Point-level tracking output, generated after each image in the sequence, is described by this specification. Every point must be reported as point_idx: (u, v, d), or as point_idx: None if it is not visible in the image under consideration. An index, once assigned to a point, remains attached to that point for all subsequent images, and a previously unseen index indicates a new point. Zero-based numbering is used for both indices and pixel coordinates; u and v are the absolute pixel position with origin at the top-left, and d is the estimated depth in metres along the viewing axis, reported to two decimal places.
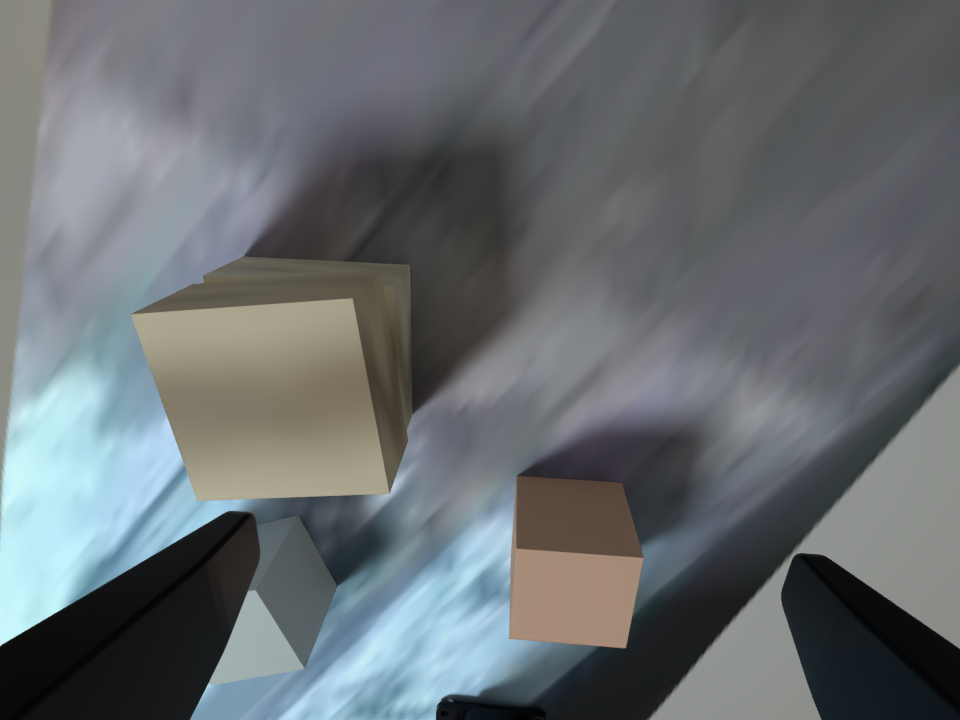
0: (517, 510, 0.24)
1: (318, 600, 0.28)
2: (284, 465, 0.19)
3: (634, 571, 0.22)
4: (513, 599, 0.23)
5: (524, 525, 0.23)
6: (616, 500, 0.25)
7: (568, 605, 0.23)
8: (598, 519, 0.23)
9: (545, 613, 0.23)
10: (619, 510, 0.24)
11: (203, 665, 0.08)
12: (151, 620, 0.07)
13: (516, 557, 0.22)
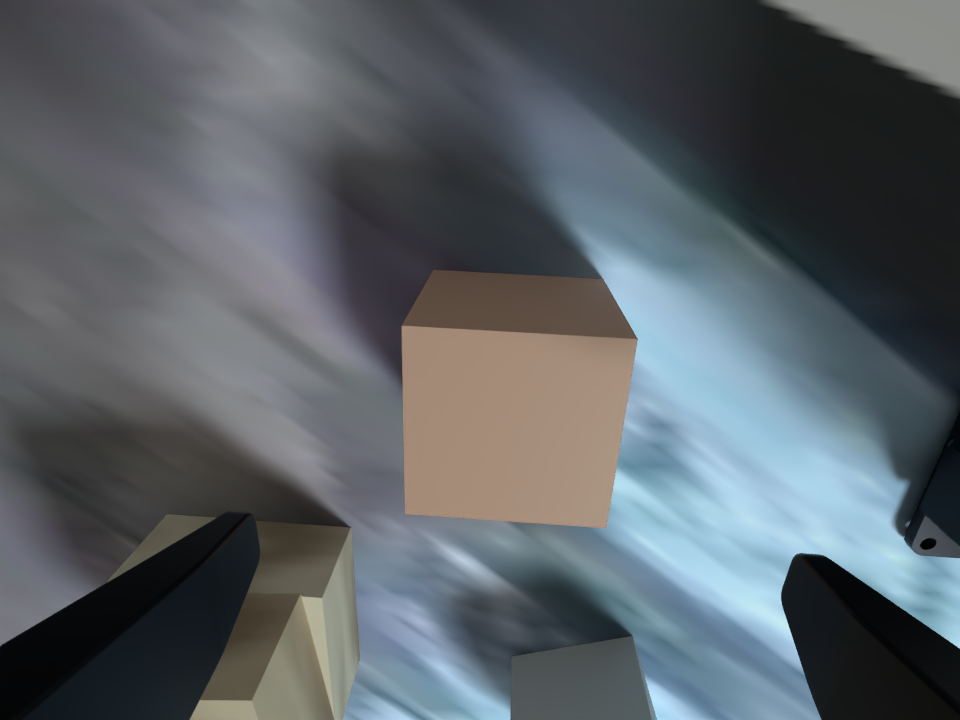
0: None
1: (616, 683, 0.20)
2: None
3: (434, 339, 0.12)
4: (513, 520, 0.13)
5: None
6: None
7: (523, 440, 0.13)
8: None
9: (544, 475, 0.13)
10: None
11: (203, 664, 0.08)
12: (151, 620, 0.07)
13: (423, 513, 0.14)
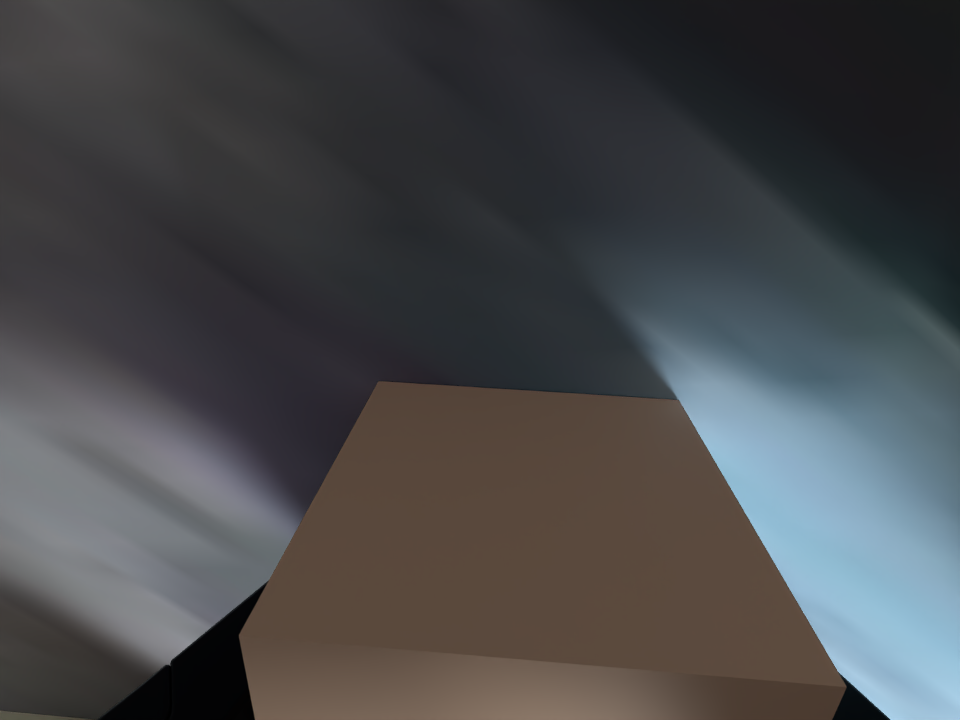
0: None
1: None
2: None
3: (322, 665, 0.05)
4: None
5: None
6: None
7: None
8: None
9: None
10: None
11: None
12: None
13: None
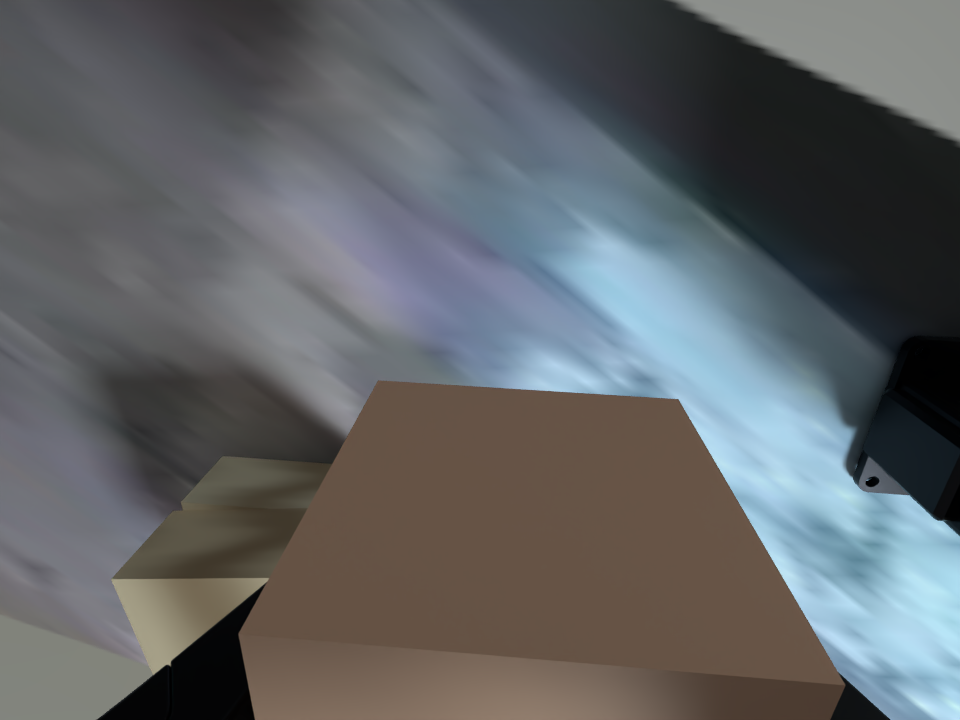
0: None
1: None
2: None
3: (321, 663, 0.05)
4: None
5: None
6: None
7: None
8: None
9: None
10: None
11: None
12: None
13: None
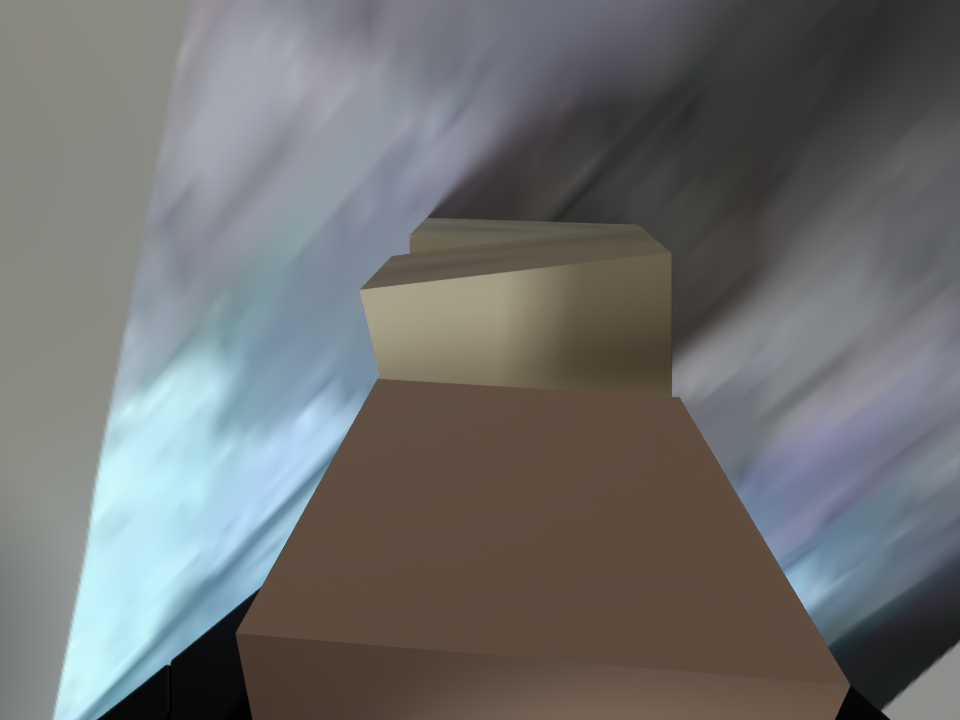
0: None
1: None
2: None
3: (320, 663, 0.05)
4: None
5: None
6: None
7: None
8: None
9: None
10: None
11: None
12: None
13: None
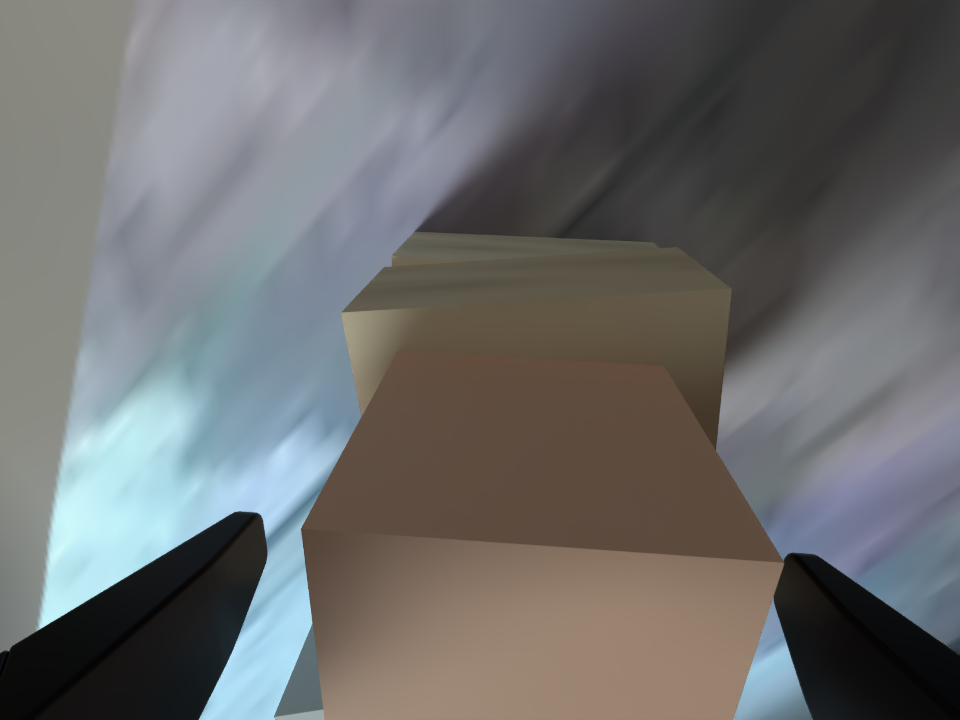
0: None
1: None
2: None
3: (367, 553, 0.06)
4: None
5: None
6: None
7: (545, 716, 0.07)
8: None
9: None
10: None
11: (211, 666, 0.08)
12: (161, 621, 0.07)
13: None
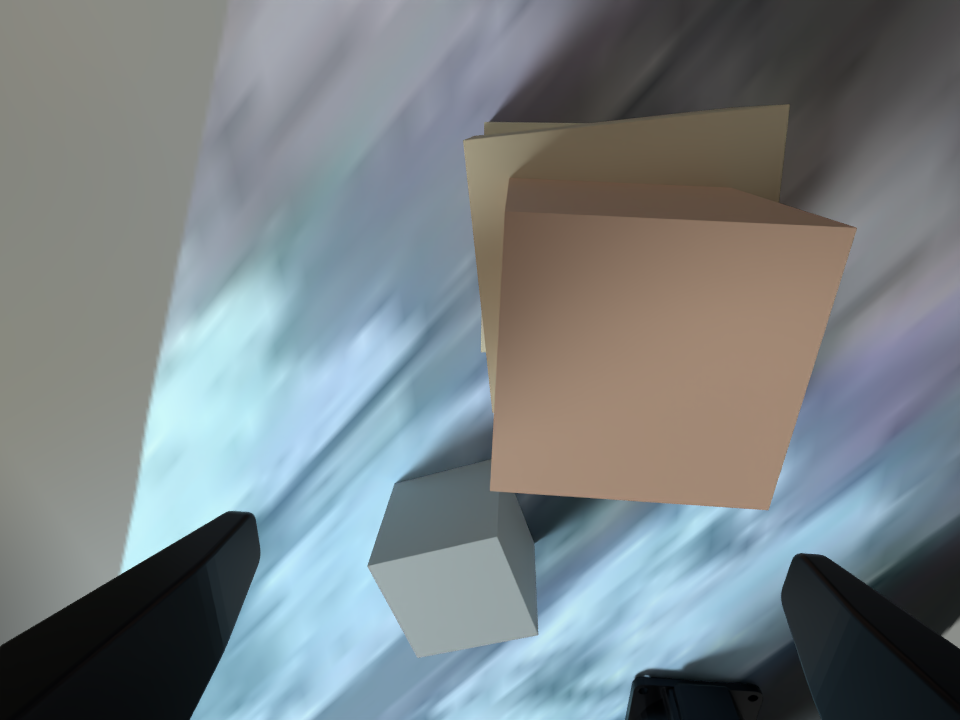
0: None
1: (529, 557, 0.23)
2: None
3: (551, 231, 0.08)
4: (639, 498, 0.10)
5: None
6: None
7: (667, 385, 0.09)
8: None
9: (690, 435, 0.09)
10: None
11: (203, 665, 0.08)
12: (151, 620, 0.07)
13: (515, 490, 0.10)
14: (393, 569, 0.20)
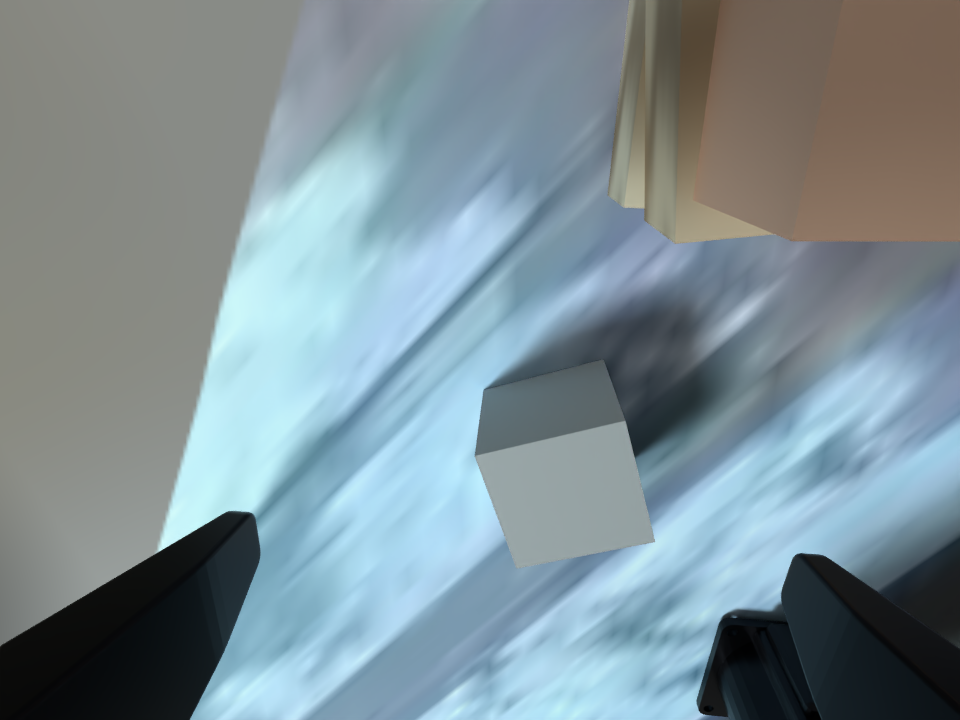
0: (735, 214, 0.10)
1: None
2: None
3: None
4: None
5: (758, 205, 0.09)
6: None
7: None
8: None
9: None
10: None
11: (203, 665, 0.08)
12: (151, 620, 0.07)
13: (824, 238, 0.08)
14: (503, 460, 0.18)
